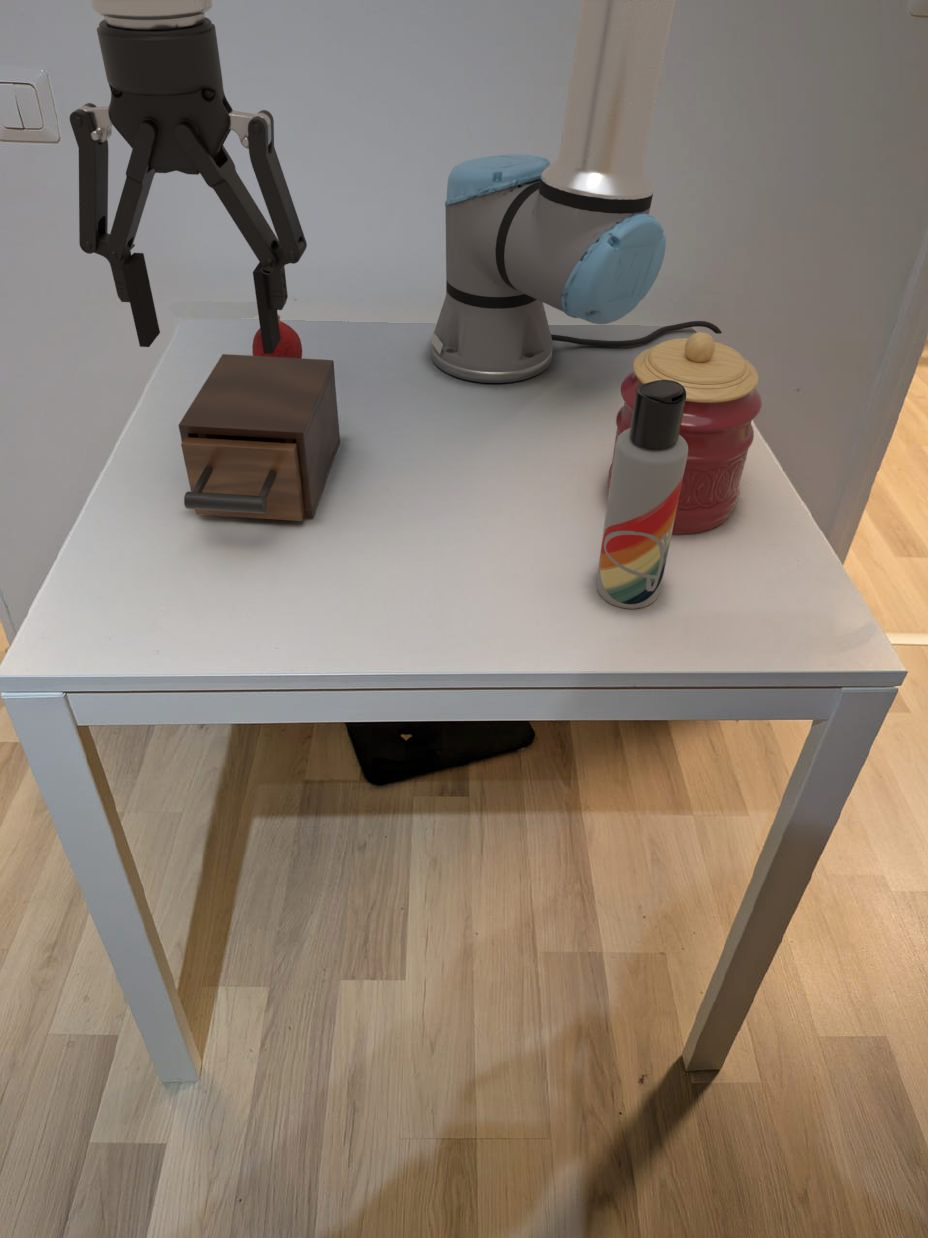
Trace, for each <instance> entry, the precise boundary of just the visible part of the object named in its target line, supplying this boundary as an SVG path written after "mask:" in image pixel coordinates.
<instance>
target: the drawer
mask: <svg viewBox="0 0 928 1238" xmlns="http://www.w3.org/2000/svg"><path fill="white" fill-rule="evenodd" d="M180 447H181V451H182V455H183V460H184V465H185V469H186V475H187V479H188V483H189V488H190V491H186V492H185V494H184V496H183V503H184V507H185V508H186V509H188V510H194V512H195V515H201V516H203V515H204V516H215V517H217V516H219V517H233V518H250V519H264V520H266V519H267V520H280V521H281V520H282V521H296V522H297V521H298V522H302V521H303V520H304V518H303V517H304V514H305V513H304V504H303V495H302V487H301V478H300V470H299V461H298V453H297V444H296V439H280V438H263V437H246V436H229V435H212V434H198V438H189V437H185V438H184V439H183V441H182V440H181V443H180Z"/></svg>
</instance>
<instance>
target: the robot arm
mask: <svg viewBox="0 0 928 1238" xmlns="http://www.w3.org/2000/svg"><path fill="white" fill-rule="evenodd" d="M676 1H677V0H580V7H579V13H578V20H577V28H576V35H575V41H574V48H573V56H572V62H571V68H570V69H571V70H570V76H569V82H568V89H567V96H566V103H565V110H564V117H563V124H562V131H561V137H560V144H559V150H558V151H559V152H558V156H557V158H556V159H555V161H553V162H552V163H551V161H550V160H549V159H548V158H546V157H543V156H540V155H533V154H499V155H498V154H497V155H490V156H482V157H476V158H473V159H469V160H464V161H462V162H460V163H458V164H457V165H455V166H454V167H453V168H452V169H451V171H450V172H449V174H448V177H447V185H446V200H445V201H444V206H445V277H446V279H445V281H446V283H445V285H446V287H445V288H446V289H445V297H444V300H443V303H442V307H441V308H440V313H439V316H438V317H437V320H436V324H435V327H434V330H433V332H432V335H431V338H430V343H431V344H430V345H431V349H430V351H431V352H430V353H431V359H432V361H433V363H434V364H435V365H436V366H437V367H438V368H439V369H440V370H442V371H443V372H444V373H446V374H448V375H451V376H453V377H455V378H458V379H462V380H465V381H471V382H476V383H483V384H484V383H485V384H506V383H507V384H508V383H514V382H519V381H520V382H521V381H524V380H528V379H530V378H533V377H535V376H539V375H540V374H542V373H543V372H545V371H546V370H547V369H548V368H549V366H550V365H551V363H552V360H553V351H554V350H553V348H554V347H553V341H556V342H562V343H570V344H575V345H581V346H596V347H611V348H612V347H616V348H617V347H631V346H638V345H643V344H646V343H648V342H650V341H653V340H654V339H655V338H657V337H659V336H660V335H663V334H665V333H667V332H668V333H669V332H673V331H678V330H684V329H688V328H689V329H690V328H697V327H702V328H707V329H709V330H711V331H712V332H713V333H714V334H718V335H720V334H722V330H721V329H720V328H719V327H718V326H717V325H716V324H714V323H712V322H710V321H705V320H693V321H692V320H691V321H687V322H680V323H676V324H670V325H665V326H662V327H660V328H658V329H656V330H654V331H653V332H651V333H649V334H647V335H645V336H642V337H640V338H635V339H625V340H603V339H590V338H589V339H588V338H579V337H574V336H568V335H562V334H561V335H560V334H552V333H551V330H550V325H549V322H548V318H547V314H546V310H545V305H548V306H550V307H552V308H554V309H556V310H558V311H561V312H563V313H564V314H565V315H566V316H568V317H570V318H574V319H580V320H583V321H586V322H589V323H592V324H595V325H607V324H612V323H614V322H617V321H619V320H621V319H622V318H624V317H626V316H627V315H628V314H630V313H631V312H632V311H633V310H634V309H635V308H636V307H637V306H638V305H639V304H640V302H641V301H642V300H643V299H644V298H645V297H646V296H647V294H648V293H649V292H650V291H651V288H652V287H653V285H654V284H655V282H656V280H657V278H658V275H659V273H660V271H661V268H662V266H663V263H664V259H665V254H666V246H667V240H666V239H667V237H666V235H665V234H664V230H665V229H664V227H663V226H662V224H661V223H660V221H658V220H657V218H656V217H655V216H654V215H651V214H650V211H651V205H652V201H653V197H654V191H655V189H654V186H653V184H652V182H651V181H650V179H649V178H648V176H647V174H646V173H645V170H644V164H645V159H646V154H647V149H648V145H649V138H650V134H651V130H652V129H651V128H652V124H653V120H654V115H655V114H654V113H655V109H656V104H657V98H658V94H659V88H660V83H661V80H662V79H661V78H662V74H663V67H664V63H665V58H666V53H667V48H668V43H669V37H670V32H671V27H672V23H673V17H674V11H675V8H676ZM90 3H91V8H92V9H93V10H94V11H95V12H97V14H99V15H100V16H102V17H103V18H104V19H103V20H101V21H100V22H99V24H98V27H96V33H97V38H98V42H99V48H100V52H101V57H102V61H103V66H104V67H103V68H104V71H105V77H106V80H107V83H108V86H109V89H110V101H109V105H107V106H106V105H105V106H97V105H96V104H94V103H93V102H92V103H91V102H87V103H85V104H83V105H82V106H79V108H77V109H75V110H74V111H72V112H71V113H70V115H69V124H70V126H71V129H72V132H73V135H74V138H75V143H76V144H77V147H78V148H77V149H78V218H79V219H78V221H79V222H78V223H79V224H78V227H79V228H78V229H79V230H78V231H79V232H78V233H79V235H78V236H79V237H78V239H79V242H78V243H79V247H80V249H81V250H82V251H83V252H84V253H86V254H90V255H91V254H96V255H99V256H101V257H103V258H105V259H106V261H108V263H109V265H110V271H111V274H112V277H113V282H114V287H115V290H116V295H117V298H118V299H119V300H120V302H121V303H129V305H130V309H131V313H132V318H133V322H134V327H135V331H136V335H137V340H138V345H139V347H140V348H150V347H151V345H153V343H154V341H155V340H156V339H157V338H158V336H159V335H160V334H161V331H160V326H159V320H158V315H157V312H156V307H155V301H154V296H153V293H152V287H151V281H150V278H149V274H148V269H147V264H146V258H145V254H144V252H133V253H132V252H131V251H132V250H133V248H134V247H135V246H136V244H135V239H136V236H137V234H138V229H139V226H140V223H141V220H142V217H143V213H144V209H145V207H146V204H147V200H148V197H149V194H150V189H151V187H152V183H153V180H154V178H155V175H156V174H168V173H173V172H180V173H182V174H186V175H195V176H196V175H197V176H199V175H200V176H201V177H202V179H203V181H204V182H205V183H206V185H207V186H208V187H209V188H211V189H212V190H213V191H214V193H215V194H216V195H217V197H218V199H219V201H220V202H221V203H222V205H223V207H224V208H225V210H226V211H227V213H228V214H229V216H230V218H231V219H232V221H233V222H234V224H235V225H236V227H237V229H238V230H239V231H240V234H241V235H242V236H243V238H244V240H245V241H246V243H247V244H248V246H249V247H250V249H251V251H252V252H253V254H254V255H255V257H256V258H257V260H258V263H257V265H256V267H255V268H254V270H253V271H252V278H253V285H254V294H255V300H256V301H255V302H256V308H257V314H258V322H259V323H258V324H259V329H260V331H261V338H262V345H263V353H264V354H273V353H274V351H275V349H276V347H277V345H278V343H279V342H280V340H281V338H280V329H279V321H278V315H279V314H278V311H283V309H284V307H285V305H286V304H287V301H288V298H289V297H288V296H289V295H288V286H287V275H286V268H285V266H286V265H289V264H292V265H293V264H297V263H298V262H299V261H301V258H302V256H303V255H304V253H305V252H306V249H307V247H308V244H307V243H308V242H307V240H306V236H305V233H304V231H303V228H302V225H301V222H300V219H299V217H298V216H299V215H298V212H297V211H296V207H295V204H294V201H293V198H292V195H291V192H290V189H289V186H288V183H287V180H286V178H285V174H284V172H283V169H282V166H281V162H280V160H279V157H278V154H277V150H276V148H275V121H274V116H273V115H272V113H271V112H270V111H269V110H266V109H261V110H260V111H258V112H257V113H252V112H251V113H250V112H244V111H237V110H234V109H233V107H232V106H231V105H230V103H229V101H228V99H227V97H226V94H225V90H224V82H223V81H224V80H223V74H222V65H221V59H220V52H219V45H218V44H219V43H218V38H217V30H216V29H217V28H216V25H215V24H214V23H213V22H212V20H211V19H210V18H208V17H206V15H205V13H207V12H209V11H210V10H211V9H212V7H213V1H212V0H90ZM112 127H113V128H115V130H116V131H117V132H118V134H120V136H121V137H122V138H123V139H124V140H125V141H126V142H127V144H128V145H129V147H130V149H131V153H130V157H129V160H128V162H127V163H128V164H127V166H126V171H125V176H126V177H125V180H124V184H123V187H122V192H121V195H120V198H119V202H118V205H117V209H116V212H115V215H114V219H113V223H112V226H111V229H110V230H111V231H110V233H109V231H108V230H109V229H108V227H109V225H108V221H109V220H108V219H109V215H108V214H109V142H108V141H109V139H110V138H111V137H112V134H113V133H112V132H113V131H112ZM231 131H233V132H235V133H236V134H237V136H238V138H239V141H240V144H241V145H242V146H243V147H244V148H245V149H247V150H248V154H249V159H250V163H251V166H252V169H253V172H254V175H255V178H256V181H257V184H258V186H259V189H260V192H261V195H262V198H263V200H264V204H265V206H266V210H267V212H268V214H269V218H270V221H271V224H272V226H273V228H274V231H273V229H272V228H271V226H270V224H269V223H268V221H267V219H266V217H265V216H264V215H263V213H262V211H261V210H260V208H259V206H258V205H257V203H256V202H255V200H254V198H253V196H252V195H251V193H250V191H249V190H248V188H247V187H246V185H245V183H244V181H243V180H242V179H241V177H240V174H239V173H238V172H237V170H236V169H237V168H236V165H235V163H234V161H233V159H232V157H231V155H230V154H229V152H228V150H227V149H226V147H225V146H224V144H225V142H226V141H227V139H228V136H229V135H230V133H231Z"/></svg>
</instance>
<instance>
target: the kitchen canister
mask: <svg viewBox="0 0 928 1238" xmlns="http://www.w3.org/2000/svg"><path fill="white" fill-rule="evenodd" d="M632 369H633V370H632V371H631V372H629V373H628V374H627V375H626V376H625V377H624V378H623V380H622V382H621V385H620V395H621V397H622V400H623V404H622V406H621V407H620V409H619V410H618V412H617V413H616V414H617V415H616V419H615V425H616V432H615V439H614V446H613V452H612V460H611V464H610V465H609V468H608V476H607V488H608V490H609V489H610V482H611V475H612V468H613V461H614V454H615V448H616V442H617V439H618V437H619V435H620V434H621V433H622V432H624V431H625V430H627V429H629V428H630V427H631V421H632V414H633V408H634V401H635V394H636V390H637V388H638V387H639V386H641V385H643V384H646V383H649V382H652V381H657V380H672V381H675V382H678V383H680V384H681V385H682V386H683V387H684V388H685V390H686V402H685V407H684V412H683V417H682V422H681V427H680V433H679V435H680V436H682V437H683V438H684V439H685V441H686V443H687V445H688V455H687V460H686V465H685V470H684V475H683V480H682V485H681V490H680V495H679V500H678V505H677V510H676V515H675V520H674V525H673V530H672V534H694V533H701V532H705V531H710V530H711V529H714V528H716V527H718V526H720V525H722V524H723V523H724V522H726V521H727V520H728V519H729V517H730V516H731V514H732V512H733V509H734V508H735V507H736V504H737V503H738V500H739V495H740V491H741V480H742V476H743V473H744V468H745V466H746V465H745V464H746V460H747V457H748V453H749V450H750V449H749V448H750V447H751V446H752V444H753V442H754V437H755V433H754V428H753V427H754V426H753V425H752V422H753V420H754V419H755V418H757V416H758V415H759V414H760V412H761V409H762V407H763V406H762V405H763V400H762V396H761V394H760V392H759V391H758V389H757V388H756V387H757V385H758V382H759V373H758V371H757V369H756V368H755V366H754V365H753V364H752V363H751V362H750V361H748V360H747V359H746V358H745V357H743V355H742V354H741V353H740V352H739V351H737V350H735V349H734V348H732V347H730V346H728V345H726V344H724V343H721V342H717V341H715V339H714V338H713V336H711V334H709V333H708V332H705V331H698V332H694V333H693V334H691V335H690V336H689V337H681V338H673V339H669V340H664V341H662V342H660V343H658V344H657V345H654V346H652V347H649V348H646V349H644V350H643V351H641V352H640V353H639V354H638V355H636V357H635V359H634V361H633V365H632Z"/></svg>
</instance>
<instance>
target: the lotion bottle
mask: <svg viewBox="0 0 928 1238" xmlns="http://www.w3.org/2000/svg"><path fill="white" fill-rule="evenodd" d="M685 402H686V390H685V388H684V387H683V386H682V385H681V384H680V383H678V382H675V381H672V380H657V381H652V382H649V383H646V384H643V385H641V386H639V387H638V388H637V390H636V394H635V401H634V408H633V414H632V421H631V427H630V428H629V429H627V430H625V431H624V432H622V433H621V434H620V435H619V437H618V439H617V442H616V448H615V454H614V461H613V468H612V475H611V482H610V489H609V488H608V497H607V503H606V511H605V518H604V524H603V531H602V532H603V533H602V539H601V545H600V553H599V559H598V567H597V574H596V590H597V592H598V594H599V595H600V596H601V597H602V599H603V600H604V601H606V602H607V603H609V604H611V605H613V606H615V607H618V608H622V609H631V610H633V609H635V610H636V609H641V608H645V607H647V606H649V605H651V604H653V603H654V602H655V601H656V600H657V598H658V597H659V594H660V591H661V589H662V584H663V583H662V582H663V580H664V579H663V578H664V574H665V568H666V564H667V559H668V554H669V550H670V544H671V539H672V538H671V537H672V535H673V533H672V530H673V525H674V520H675V515H676V510H677V505H678V500H679V495H680V490H681V485H682V480H683V475H684V470H685V465H686V460H687V455H688V445H687V443H686V441H685V439H684V438H683V437H682V436H680V435H679V433H680V427H681V422H682V417H683V412H684V407H685Z"/></svg>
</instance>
